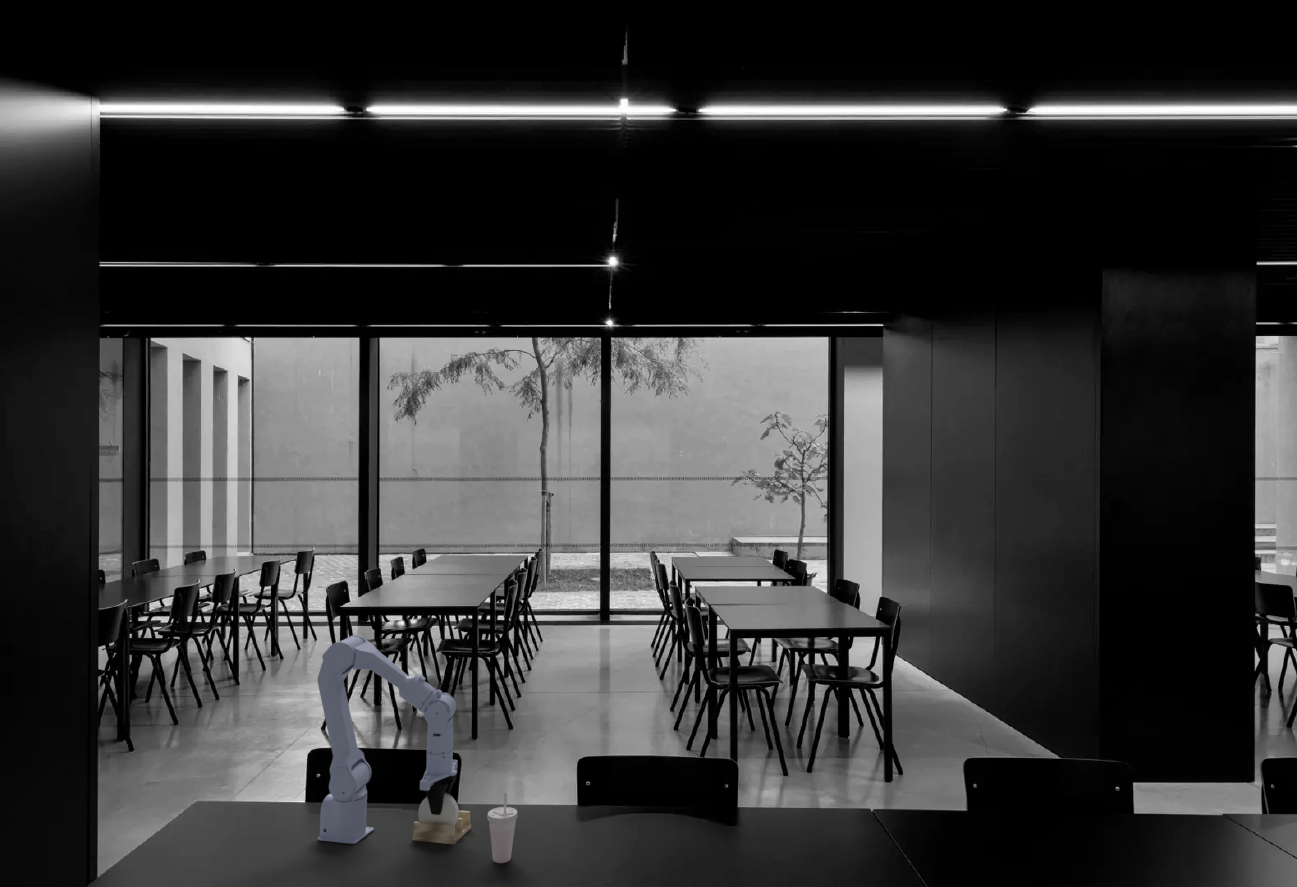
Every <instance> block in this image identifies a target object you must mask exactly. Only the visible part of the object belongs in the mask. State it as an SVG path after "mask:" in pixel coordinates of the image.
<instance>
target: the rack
mask: <svg viewBox="0 0 1297 887" xmlns="http://www.w3.org/2000/svg"><path fill="white" fill-rule="evenodd" d="M471 828H472V824H471V810H470V811H469V810H460V809H459V818H458V821H457V823H456V825H447V824H437V823H427V822H420V821H416V820H415V821H414V822H413V833H412V834H413V835H412V841H418V842H427V843H436V844H437V843H438V844H445V845H446V844H447V845H455V844H456V843H457V842H458V841H460V839H461V838H463V836H464V835H465V834H467V833H468V832H469V830H471Z"/></svg>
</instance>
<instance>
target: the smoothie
mask: <svg viewBox="0 0 1297 887" xmlns="http://www.w3.org/2000/svg"><path fill="white" fill-rule="evenodd" d="M507 797H508V794H507V790H506V791H504V792H503V806H498V807H495V808H492V809H490V810H489V811H488V812H487V817H486V818H487V821H488V823H489V834H490V842H491V852H492V861H493V862H494V863H498V864H504V863H508V862H510V860H511V859H512V851H513V845H514V843H513V842H514V836H515V830H516V829H515V828H516V823H517V822H516V821H517V819H518V810H517V809H516V808H514V807H511V806H510V807H509V806H507V805H508V804H507V802H508V800H507Z"/></svg>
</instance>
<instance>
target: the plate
mask: <svg viewBox="0 0 1297 887" xmlns="http://www.w3.org/2000/svg"><path fill="white" fill-rule="evenodd" d="M459 810H460V809H459V805H458V803H457V800H455V797H453V796H452V795H451V794H450V795H449V794H448V793H445V794H444V798H443V806H442V811H441V814H440V815H435V814H431V811H430V806H429V802H428V799H427V796H426V797H425V798H424V799H423V800H422V801H421V803H420V805H419V807H418V810H417V811H418V812H417V817H418V822H427V823H437V824H447V825H456V823H457V821H458V818H459Z"/></svg>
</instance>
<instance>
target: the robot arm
mask: <svg viewBox="0 0 1297 887" xmlns="http://www.w3.org/2000/svg"><path fill="white" fill-rule="evenodd" d="M321 657H322V663H321V664H320V665H321V666H320V668H319V673H318V676H317V685H318V691H319V695H320V699H321V700H320V701H321V705H322V708H323V709H322V710H323V714H324V718H325V723H326V728H327V734H328V739H329V743H330V748H331V753H332V760H331V764H330V766H329V774H330V779H329V783H328V790H329V793H328V794H327V795H326V796H325V798H324V799H323V801H322V803H321V807H320V813H319V814H320V819H319V836H318V837H317V841H322V842H324V841H325V842H332V843H340V844H348V845H349V844H350V845H355V844H358V843H359V842H360V841H361V840H363V839H364V838H365V837H366V836H368V835H369V834H370V833H371V832H373V831H375V828H374V827H371V826H367V810H368V809H367V804H368V801H367V800H368V790H367V783H369V782H370V780H371V777H372V768H371V766H370V764H369V763H368V762H367V761H366V758H365V753H364V752H363V751H362V750H361V749H360V748H359V747H358V744H357V738H356V733H355V729H354V724H353V721H352V715H351V710H350V705H349V702H348V695H347V691H346V687H345V682H344V681H345V679H346V678H347V676H348V675H349V673H350V672H351V671H352V670H371V672H373V673H375V674H376V675H378V676H380V677H381V678H383V679H384V680H385V681H387V682H388V683H390V684H392V685H393V686H395V687H396V688H397V689H398V693H399V694H398V695H399V697H401V699H403V701H404V700H405V701H406V702H407V703H408V704H410V705H411V706H412V707H413V708H415V709H416V710H417V711H419V712H420V713H422V714H423V717H424V719H425V721H426V722H427V732H426V733H427V734H426V736H427V737H426V769H425V771H424V774H423V776H422V779H421V780H420V781H419V790H420V791H423V792H424V793H425V796H426V797H427V799H428V802H429V806H430V811H431V814H435V815H440V814H441V811H442V806H443V798H444V794H445V793H448V794H449V795H451V791H452V788H453V786H454V784H455V783H456V780H457V774H458V760H457V759H453V756H454V747H453V746H454V717H453V715H454V714H455V712H456V710H457V702H456V699H455V698H454V697H453V696H452V695H451V694H450V693H448V692H443V690H441V689H436V688H435V687H433V686H432V685H431V684H430V683H428V682H427V681H426V677H425V676H424V675H420V676H419V675H417V674H412V675H409V674H407V673H406V672H404V670H402V669H401V668H400V667H399V666H398V665H396V664H395V663H394V662H392V661H391V660H390V658H388V657H387V656H385V655H384V654H383V653H382V652H380V651H379V650H378V649H377V647H376V646H375V645H374V644H373V643H372V642H370V641H368V640H366V639H365V637H363V636H360V635H357V634H356V635H355V634H353V635H350V636H347V638H344V639H343V640H340V641H336V642H334V643H332V644H331V645H330V646H329V647H328V648H327V650H326V651H325V652H324V653H323V654H322V656H321Z"/></svg>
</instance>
